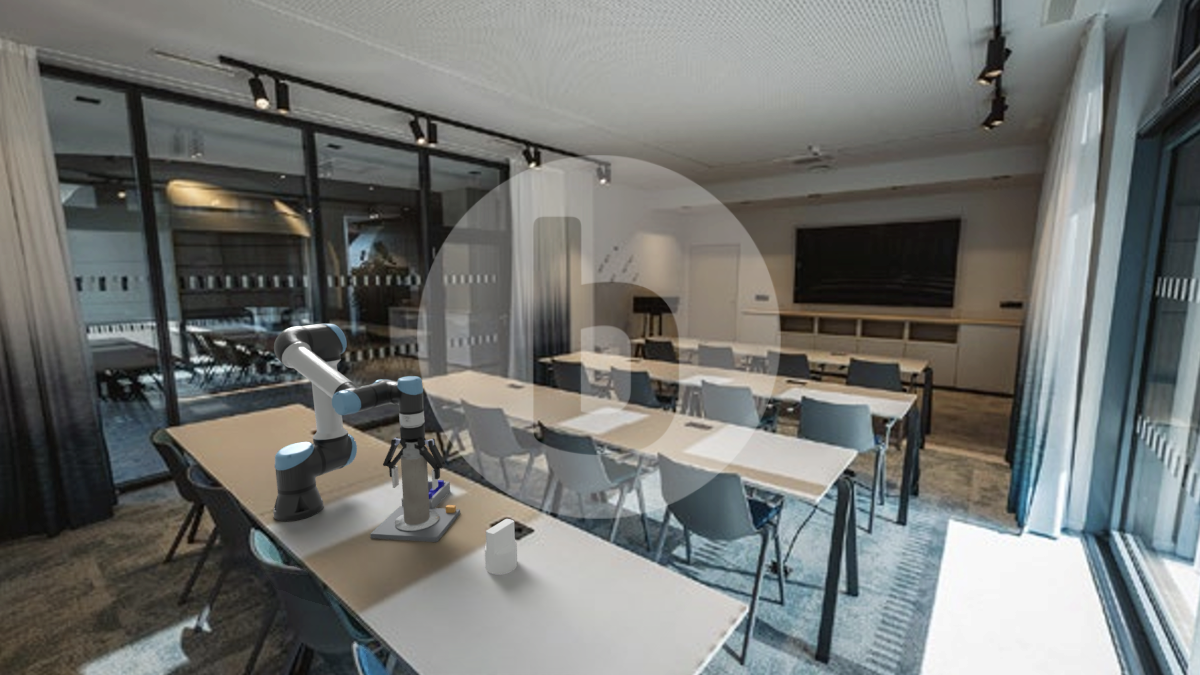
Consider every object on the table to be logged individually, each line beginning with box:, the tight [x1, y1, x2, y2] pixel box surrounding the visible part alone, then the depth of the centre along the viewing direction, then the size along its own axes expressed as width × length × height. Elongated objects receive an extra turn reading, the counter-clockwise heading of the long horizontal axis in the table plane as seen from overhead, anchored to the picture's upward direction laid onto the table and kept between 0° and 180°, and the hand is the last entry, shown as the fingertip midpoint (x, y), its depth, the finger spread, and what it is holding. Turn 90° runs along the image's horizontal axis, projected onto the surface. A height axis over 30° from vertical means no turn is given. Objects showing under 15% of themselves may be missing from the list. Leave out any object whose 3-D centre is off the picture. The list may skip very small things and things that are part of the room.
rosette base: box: [369, 504, 461, 543], centre depth 170 cm, size 22×19×4 cm
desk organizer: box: [401, 480, 451, 508], centre depth 188 cm, size 11×16×4 cm
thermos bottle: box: [400, 439, 430, 525], centre depth 168 cm, size 8×8×28 cm
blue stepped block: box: [429, 479, 445, 499], centre depth 187 cm, size 12×4×6 cm, turn 174°
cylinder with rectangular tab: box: [484, 518, 518, 576], centre depth 146 cm, size 9×9×12 cm
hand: (415, 487), depth 168 cm, fingers open, 13 cm apart
